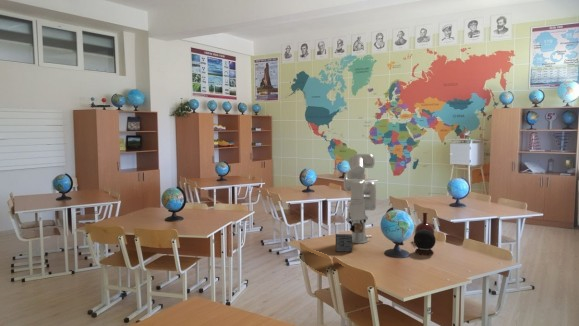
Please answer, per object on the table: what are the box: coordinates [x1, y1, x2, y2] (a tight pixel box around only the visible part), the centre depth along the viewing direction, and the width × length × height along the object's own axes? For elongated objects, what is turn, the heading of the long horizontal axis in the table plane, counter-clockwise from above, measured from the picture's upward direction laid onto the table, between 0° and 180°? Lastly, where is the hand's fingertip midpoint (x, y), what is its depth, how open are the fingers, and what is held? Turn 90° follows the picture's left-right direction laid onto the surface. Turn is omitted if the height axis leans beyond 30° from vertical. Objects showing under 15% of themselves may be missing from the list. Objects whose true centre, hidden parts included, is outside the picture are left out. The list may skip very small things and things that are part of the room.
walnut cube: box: [354, 223, 363, 233], centre depth 253 cm, size 5×5×5 cm
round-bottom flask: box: [414, 212, 436, 235], centre depth 289 cm, size 13×13×20 cm
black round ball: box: [413, 229, 437, 256], centre depth 262 cm, size 13×13×15 cm
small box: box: [335, 233, 353, 253], centre depth 268 cm, size 11×6×10 cm, turn 84°
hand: (356, 230), depth 253 cm, fingers closed on walnut cube, 5 cm apart
